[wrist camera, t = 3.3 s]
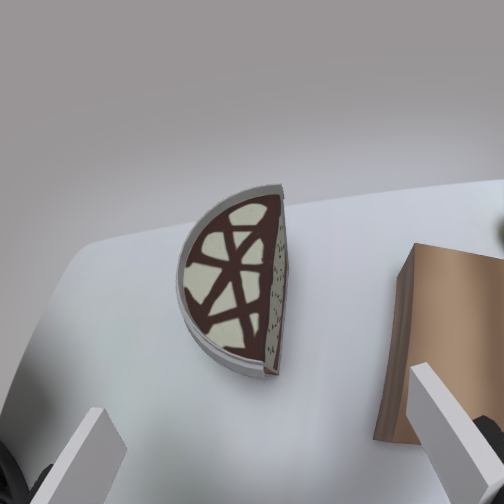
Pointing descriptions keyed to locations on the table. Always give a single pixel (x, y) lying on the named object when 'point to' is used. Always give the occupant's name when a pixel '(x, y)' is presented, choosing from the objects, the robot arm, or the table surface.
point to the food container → (238, 281)
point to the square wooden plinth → (446, 335)
